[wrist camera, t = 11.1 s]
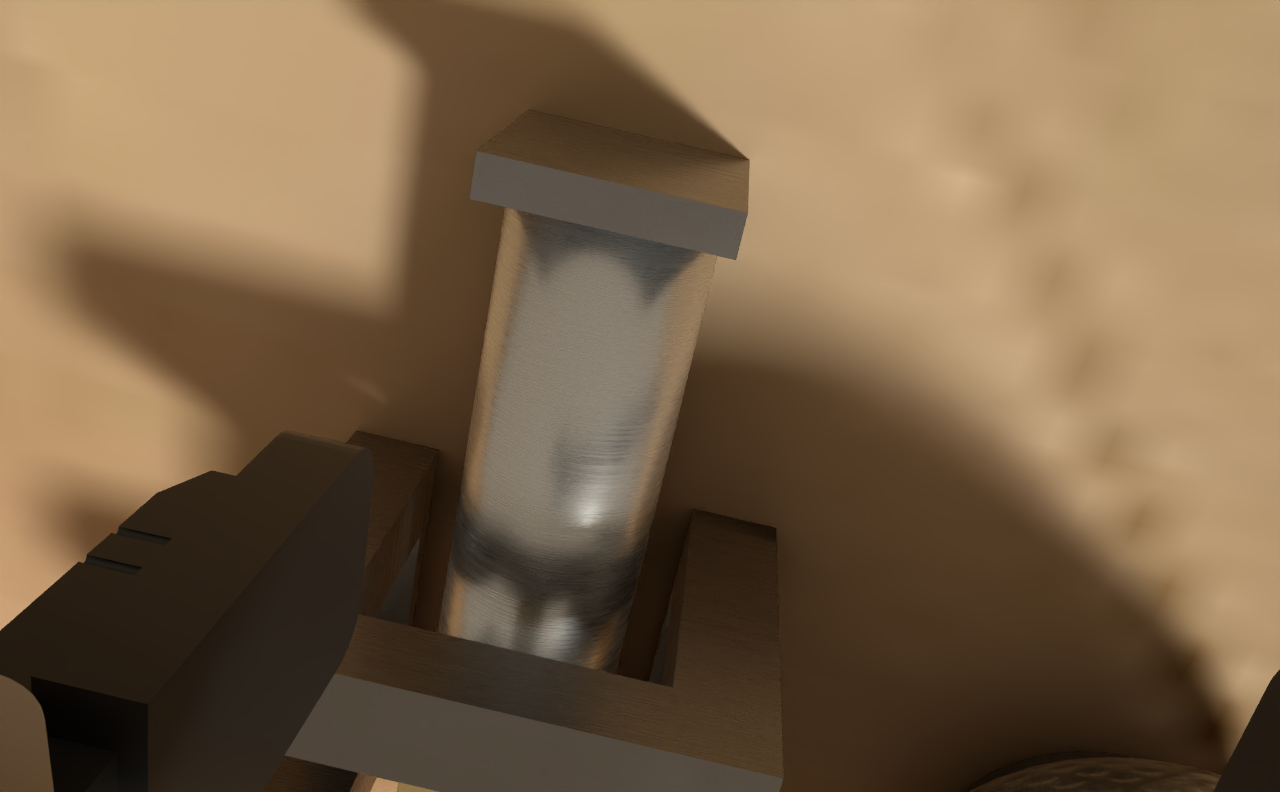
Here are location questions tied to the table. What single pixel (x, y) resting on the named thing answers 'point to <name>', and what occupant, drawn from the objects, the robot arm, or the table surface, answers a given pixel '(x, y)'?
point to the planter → (1096, 775)
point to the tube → (580, 376)
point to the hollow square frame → (547, 678)
